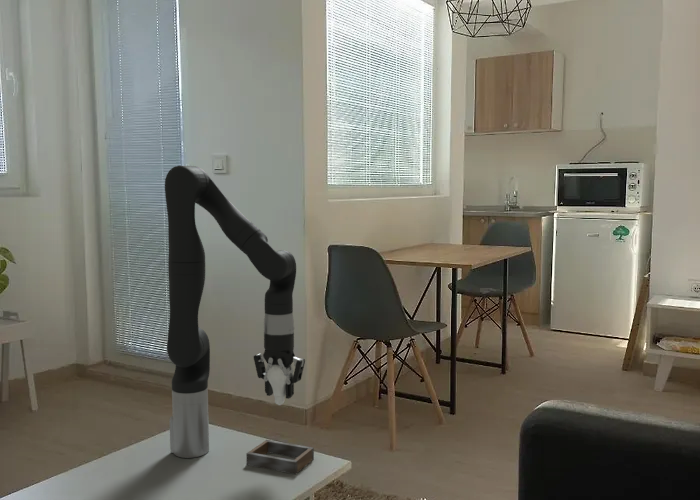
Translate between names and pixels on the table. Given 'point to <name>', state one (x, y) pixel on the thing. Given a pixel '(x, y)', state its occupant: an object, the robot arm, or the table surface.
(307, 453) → the brown wooden shallow box
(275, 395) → the lightbulb
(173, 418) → the robot arm
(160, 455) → the table surface
